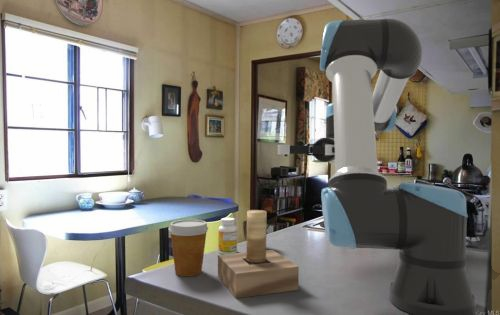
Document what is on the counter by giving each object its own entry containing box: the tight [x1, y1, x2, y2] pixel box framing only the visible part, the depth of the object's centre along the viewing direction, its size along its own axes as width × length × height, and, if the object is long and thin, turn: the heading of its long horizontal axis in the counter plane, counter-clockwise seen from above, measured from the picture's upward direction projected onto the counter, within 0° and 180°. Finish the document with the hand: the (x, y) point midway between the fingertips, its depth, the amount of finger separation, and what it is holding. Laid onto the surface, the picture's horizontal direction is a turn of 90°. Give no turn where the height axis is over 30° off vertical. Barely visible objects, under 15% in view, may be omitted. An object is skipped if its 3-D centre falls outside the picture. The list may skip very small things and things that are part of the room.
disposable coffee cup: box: [168, 219, 209, 277], centre depth 92 cm, size 10×10×12 cm
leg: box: [246, 209, 268, 265], centre depth 85 cm, size 5×5×16 cm
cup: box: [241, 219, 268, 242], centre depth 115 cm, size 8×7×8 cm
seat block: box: [217, 249, 300, 299], centre depth 85 cm, size 14×14×5 cm
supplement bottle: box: [217, 217, 238, 255], centre depth 110 cm, size 5×5×10 cm
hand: (301, 149), depth 101 cm, fingers open, 13 cm apart
